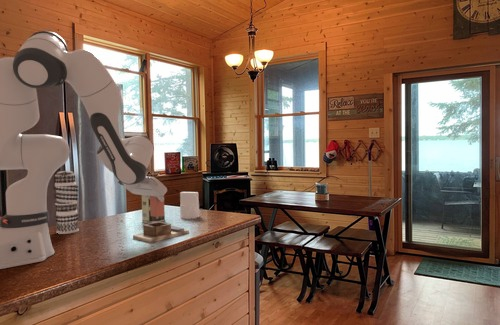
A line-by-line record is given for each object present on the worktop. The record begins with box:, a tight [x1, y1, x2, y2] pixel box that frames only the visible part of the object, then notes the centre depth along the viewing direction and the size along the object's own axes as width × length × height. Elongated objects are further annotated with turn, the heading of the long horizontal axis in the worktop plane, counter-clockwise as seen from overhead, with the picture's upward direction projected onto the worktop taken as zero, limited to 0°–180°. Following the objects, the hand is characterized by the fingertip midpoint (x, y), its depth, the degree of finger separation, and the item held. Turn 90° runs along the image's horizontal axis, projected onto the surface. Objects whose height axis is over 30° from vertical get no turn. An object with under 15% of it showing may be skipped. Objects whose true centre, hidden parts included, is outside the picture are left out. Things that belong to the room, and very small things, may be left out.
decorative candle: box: [52, 170, 80, 235], centre depth 154 cm, size 9×9×25 cm
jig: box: [132, 221, 190, 244], centre depth 143 cm, size 18×11×5 cm, turn 141°
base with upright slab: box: [179, 191, 200, 220], centre depth 181 cm, size 9×9×12 cm
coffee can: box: [141, 195, 166, 224], centre depth 173 cm, size 10×10×14 cm
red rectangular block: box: [150, 195, 165, 217], centre depth 141 cm, size 4×4×10 cm
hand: (158, 200), depth 141 cm, fingers closed on red rectangular block, 4 cm apart
